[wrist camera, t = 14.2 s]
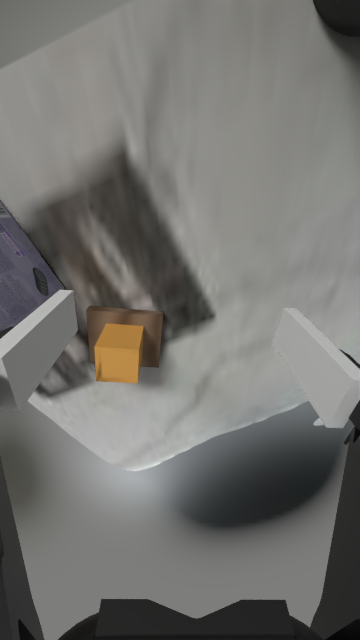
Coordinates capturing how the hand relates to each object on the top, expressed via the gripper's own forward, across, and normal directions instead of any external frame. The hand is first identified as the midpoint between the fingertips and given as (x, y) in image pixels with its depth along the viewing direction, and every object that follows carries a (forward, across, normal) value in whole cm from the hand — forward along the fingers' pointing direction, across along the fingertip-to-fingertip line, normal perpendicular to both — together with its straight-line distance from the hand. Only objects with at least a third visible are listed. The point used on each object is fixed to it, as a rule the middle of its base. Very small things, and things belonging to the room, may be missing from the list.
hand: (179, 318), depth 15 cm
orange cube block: (+26, -8, -19) cm, 33 cm away
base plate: (+28, -9, -19) cm, 35 cm away
